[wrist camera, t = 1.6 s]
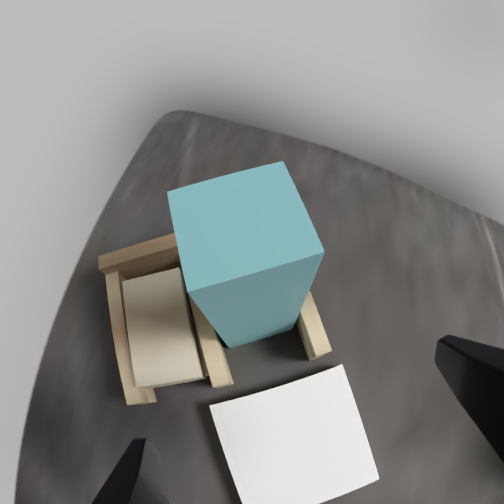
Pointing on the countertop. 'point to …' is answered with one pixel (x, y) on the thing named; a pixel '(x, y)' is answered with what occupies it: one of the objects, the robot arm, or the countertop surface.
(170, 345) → the offcut top
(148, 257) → the oak rack
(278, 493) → the white pad
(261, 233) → the teal rectangular block
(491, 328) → the countertop surface
